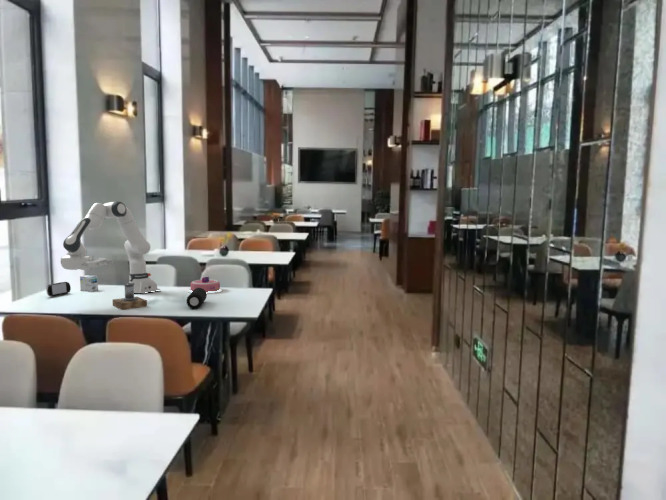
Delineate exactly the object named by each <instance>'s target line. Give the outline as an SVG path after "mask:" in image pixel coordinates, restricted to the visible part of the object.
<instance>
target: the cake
mask: <svg viewBox="0 0 666 500" xmlns="http://www.w3.org/2000/svg"><path fill="white" fill-rule="evenodd" d="M220 285H221V283H220V281H219V280H217V279H210V277H209V276H205V277H204V276H203V277H202V278H201V279H195V280H193V281H191V282H190V290H192V291H193V290H194V289H196V288H202V289H204V290H205V291H206V292H208V291H217V290H219V289H221V286H220Z"/></svg>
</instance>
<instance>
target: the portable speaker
mask: <svg viewBox="0 0 666 500" xmlns="http://www.w3.org/2000/svg"><path fill="white" fill-rule="evenodd" d="M207 295H208V294H206V291H205V290H204V289H202V288H196V289H194V290H193V292H192V293H190V294H189V295H188V296H187V297H186V305H187V306H188V308H190V309H192V308H197V309H199V308H200V307H201V306H203V304H204V302H205V301H206V299H207ZM198 307H199V308H198Z"/></svg>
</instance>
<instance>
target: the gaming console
mask: <svg viewBox="0 0 666 500" xmlns="http://www.w3.org/2000/svg"><path fill="white" fill-rule="evenodd" d="M71 289H72V288H71V284H70V283H69V282H68V281H62V282H55V283H50V284H48V285H47V286H46V289H45V290H46V295H47V296H48V297H49V298H54V297H59V296H64V295H68V294H69V293H70V292H71Z"/></svg>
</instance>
